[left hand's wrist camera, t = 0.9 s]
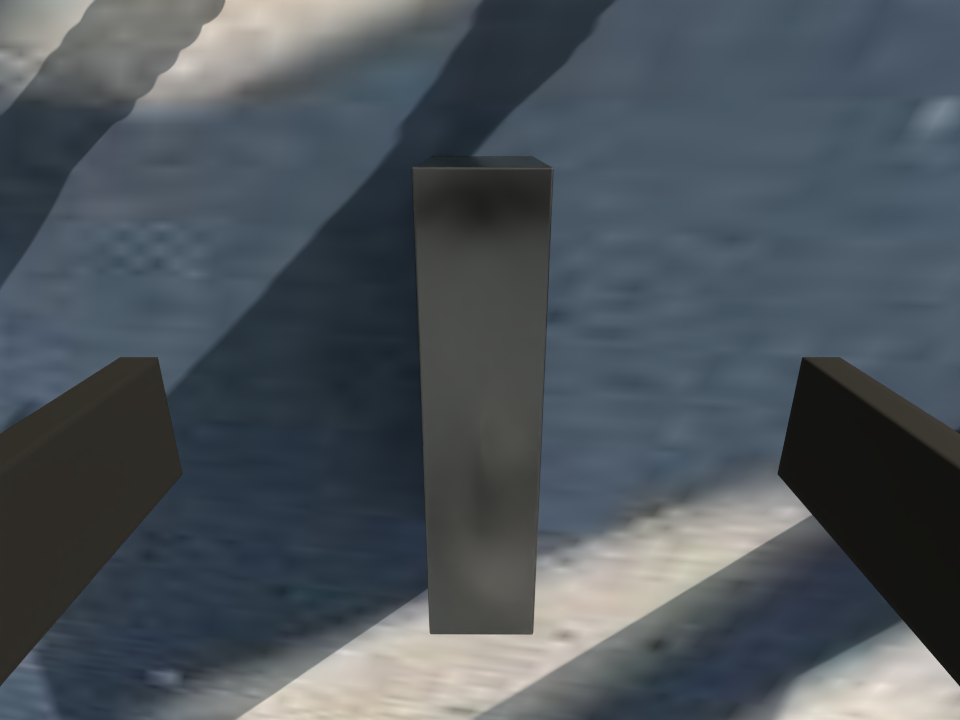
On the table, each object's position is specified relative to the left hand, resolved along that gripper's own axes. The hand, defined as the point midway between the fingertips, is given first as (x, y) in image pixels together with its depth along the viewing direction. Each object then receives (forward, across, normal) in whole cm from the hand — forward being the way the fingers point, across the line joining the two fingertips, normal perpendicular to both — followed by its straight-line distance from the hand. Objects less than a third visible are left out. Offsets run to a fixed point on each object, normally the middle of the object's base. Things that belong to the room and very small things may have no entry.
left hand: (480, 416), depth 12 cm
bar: (+20, 0, -7) cm, 22 cm away
